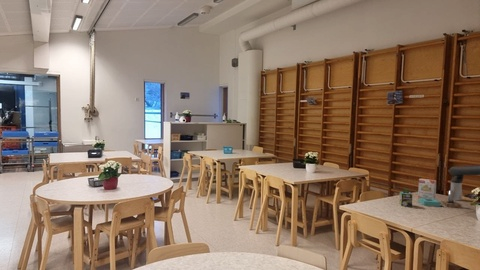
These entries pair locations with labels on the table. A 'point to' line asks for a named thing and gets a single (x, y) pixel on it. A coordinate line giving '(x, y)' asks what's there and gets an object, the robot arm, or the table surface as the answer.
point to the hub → (429, 202)
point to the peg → (451, 197)
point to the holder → (451, 204)
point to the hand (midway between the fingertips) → (466, 195)
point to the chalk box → (405, 198)
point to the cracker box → (427, 188)
